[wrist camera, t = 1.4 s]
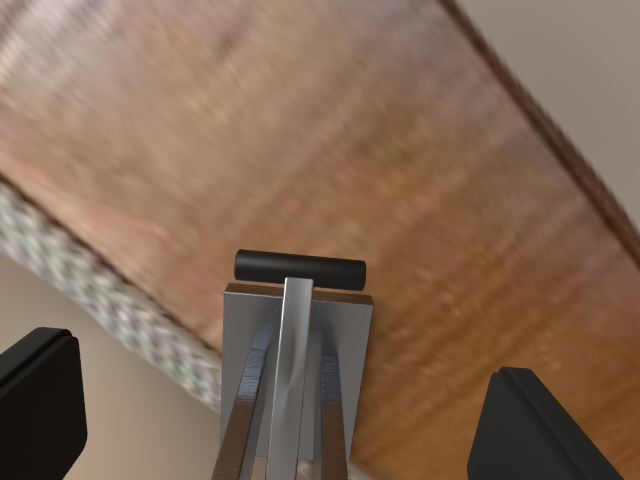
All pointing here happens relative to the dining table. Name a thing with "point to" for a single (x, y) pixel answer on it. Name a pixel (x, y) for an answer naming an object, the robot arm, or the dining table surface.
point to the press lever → (293, 337)
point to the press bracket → (320, 380)
